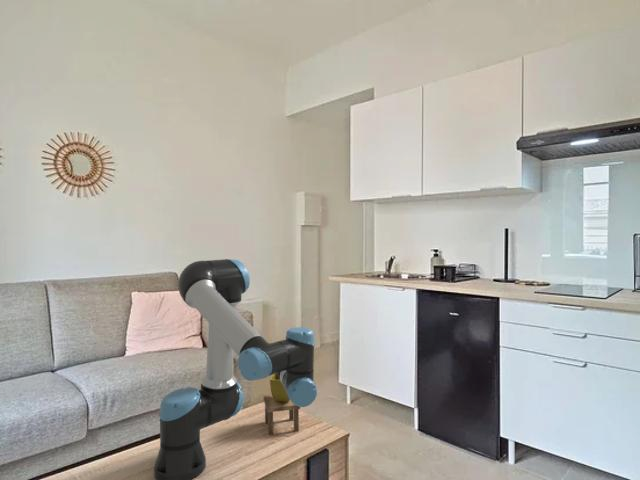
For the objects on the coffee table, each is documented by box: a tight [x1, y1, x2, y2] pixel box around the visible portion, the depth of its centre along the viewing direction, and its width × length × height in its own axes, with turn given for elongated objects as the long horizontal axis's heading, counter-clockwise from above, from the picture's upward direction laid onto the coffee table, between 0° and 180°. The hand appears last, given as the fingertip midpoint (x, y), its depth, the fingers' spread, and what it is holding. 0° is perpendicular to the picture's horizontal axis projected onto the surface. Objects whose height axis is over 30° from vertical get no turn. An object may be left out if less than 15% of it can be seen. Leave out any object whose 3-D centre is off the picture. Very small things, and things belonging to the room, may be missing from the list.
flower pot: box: [269, 373, 290, 402], centre depth 155 cm, size 9×9×9 cm
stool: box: [263, 394, 301, 436], centre depth 155 cm, size 12×12×10 cm
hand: (279, 352), depth 140 cm, fingers open, 13 cm apart
